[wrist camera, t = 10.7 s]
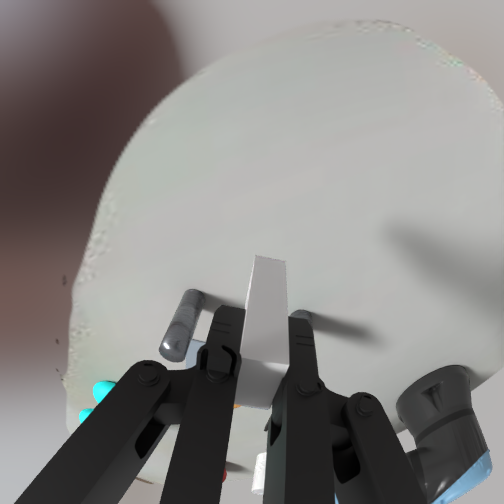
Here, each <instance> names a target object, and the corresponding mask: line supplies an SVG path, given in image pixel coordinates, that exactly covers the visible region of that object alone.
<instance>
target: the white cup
mask: <svg viewBox="0 0 504 504" xmlns="http://www.w3.org/2000/svg"><path fill="white" fill-rule="evenodd" d="M266 453H267V452H263V453H260V454H259V455H258V456H257V461H256V466H255V472H254V478H253V484H252V492H253V493H255V494H259V495H263V493H264V480H265V467H266Z"/></svg>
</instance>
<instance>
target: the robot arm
mask: <svg viewBox="0 0 504 504" xmlns="http://www.w3.org/2000/svg"><path fill="white" fill-rule="evenodd" d="M314 346H315V343H314V335H313V328H312V327H311V325H310V324H309V322H308V320H307V319H302V318H295V317H289V316H288V303H287V280H286V261H283V260H277V259H272V258H267V257H262V256H257V255H255V259H254V264H253V269H252V274H251V279H250V284H249V288H248V293H247V298H246V304H245V309H240V308H235V307H230V306H225V305H222V306H221V307H220V308H218V309H217V310H216V311H215V313H214V317H213V320H212V323H211V327H210V330H209V334H208V337H207V340H206V344H204V345H203V346H201V347H200V348H199V350H198V352H197V358H196V365H195V366H193V367H191V368H188V369H184V370H167V368H166V367H165V366H164V365H162V364H161V363H159V362H156V361H153V360H143V361H140V362H137V363H135V364H134V365H133V366H131V367H130V369H129V370H128V371H127V372H126V373H125V374H124V375H123V376H122V378H121V379H120V380H119V381H118V382H117V383H116V384H115V386H114V387H113V388H112V389H111V390H110V391H109V392H108V394H107V395H106V396H105V397H104V398H103V399H102V400H101V402H100V403H99V404H98V405H97V406H96V407H95V408H94V410H93V411H92V412H91V413H90V414H89V415H88V417H87V418H86V419H85V420H84V421H83V422H82V423H81V425H80V426H79V427H78V428H77V429H76V430H75V432H74V433H73V434H72V435H71V436H70V438H69V439H68V440H67V441H66V442H65V443H64V444H63V446H62V447H61V448H60V449H59V450H58V452H57V453H56V454H55V455H54V456H53V458H52V459H51V460H50V461H49V462H48V463H47V465H46V466H45V467H44V468H43V469H42V470H41V472H40V473H39V474H38V475H37V476H36V478H35V479H34V480H33V481H32V483H31V484H30V485H29V486H28V487H27V489H26V490H25V491H24V492H23V494H22V495H21V496H20V497H19V498H18V500H17V501H16V502H15V503H14V504H118V503H119V501H120V500H121V498H122V497H123V495H124V494H125V492H126V491H127V490H128V488H129V487H130V485H131V484H132V482H133V481H134V479H135V478H136V476H137V475H138V473H139V472H140V470H141V469H142V467H143V466H144V464H145V463H146V461H147V460H148V458H149V457H150V455H151V454H152V452H153V451H154V449H155V448H156V446H157V445H158V443H159V442H160V440H161V439H162V437H163V436H164V434H165V433H166V431H167V430H168V428H169V426H170V425H171V424H180V427H179V431H178V435H177V438H176V442H175V446H174V450H173V453H172V457H171V461H170V465H169V468H168V472H167V476H166V480H165V484H164V488H163V492H162V496H161V500H160V504H219V502H220V495H221V489H222V482H223V476H224V469H225V462H226V456H227V449H228V442H229V436H230V429H231V422H232V415H233V409H234V404H236V405H242V406H248V407H255V408H262V409H270V407H271V405H272V414H271V416H270V418H269V420H268V422H267V424H266V426H265V429H264V431H267V430H268V438H267V453H266V467H265V480H264V493H263V504H448V503H450V502H452V501H454V500H455V499H457V498H459V497H460V496H462V495H464V494H465V493H467V492H468V491H470V490H471V489H473V488H474V487H476V486H477V485H479V484H480V483H481V482H482V481H484V480H485V479H486V478H487V477H488V476H489V475H490V473H491V471H492V462H491V458H490V455H489V452H490V450H489V449H488V447H487V444H486V442H485V439H484V436H483V434H482V431H481V428H480V426H479V423H478V421H477V418H476V416H475V413H474V411H473V408H472V403H471V392H470V380H469V377H468V375H467V373H466V371H465V369H464V368H463V367H461V366H448V367H444V368H441V369H438V370H436V371H434V372H432V373H430V374H428V375H426V376H424V377H423V378H421V379H419V380H418V381H416V382H415V383H414V384H412V385H411V386H410V387H409V388H408V389H407V390H405V391H404V393H403V394H402V395H401V396H400V397H399V399H398V401H397V403H396V410H397V413H398V417H399V419H400V420H401V421H402V422H403V423H405V425H406V427H407V429H408V430H409V431H410V433H411V434H412V435H413V437H414V440H415V444H416V447H417V449H415V450H412V451H410V452H407V453H405V452H404V450H403V448H402V446H401V443H400V441H399V439H398V437H397V435H396V433H395V431H394V429H393V427H392V425H391V423H390V421H389V419H388V417H387V415H386V413H385V411H384V409H383V407H382V405H381V403H380V402H379V400H378V399H377V398H376V397H374V396H373V395H371V394H369V393H366V392H358V393H355V394H353V395H352V396H351V397H350V398H348V397H345V396H342V395H339V394H336V393H334V392H332V391H330V390H329V389H327V388H326V387H325V384H324V382H323V381H322V380H321V379H320V378H319V376H318V368H317V360H316V351H315V347H314Z"/></svg>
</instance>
